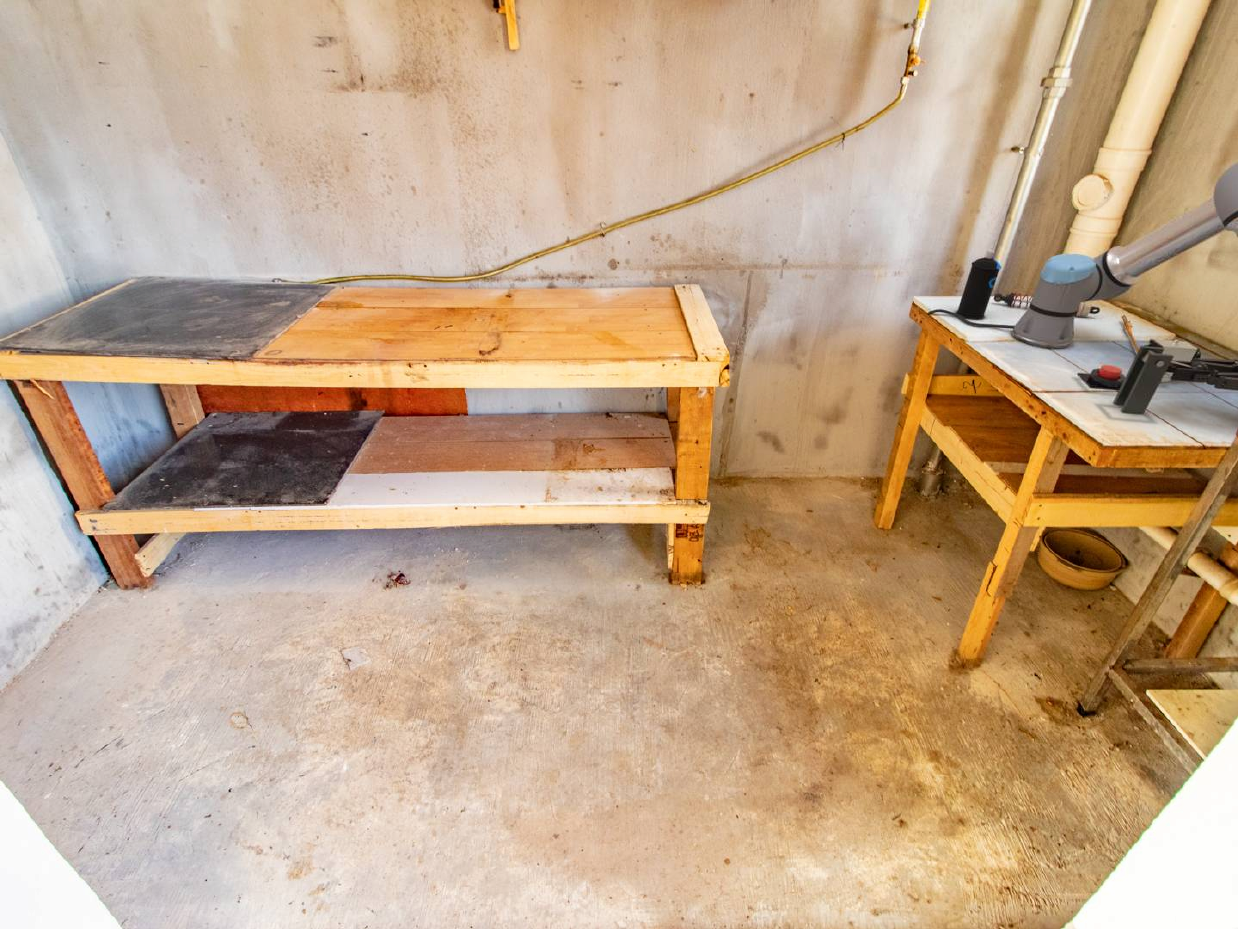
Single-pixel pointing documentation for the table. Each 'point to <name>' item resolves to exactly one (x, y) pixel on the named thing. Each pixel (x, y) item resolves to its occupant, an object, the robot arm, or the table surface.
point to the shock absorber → (1081, 311)
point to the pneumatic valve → (1176, 351)
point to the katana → (1129, 332)
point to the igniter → (1110, 372)
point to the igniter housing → (1101, 380)
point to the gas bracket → (1142, 380)
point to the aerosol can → (979, 287)
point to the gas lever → (1179, 365)
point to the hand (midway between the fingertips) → (1169, 369)
